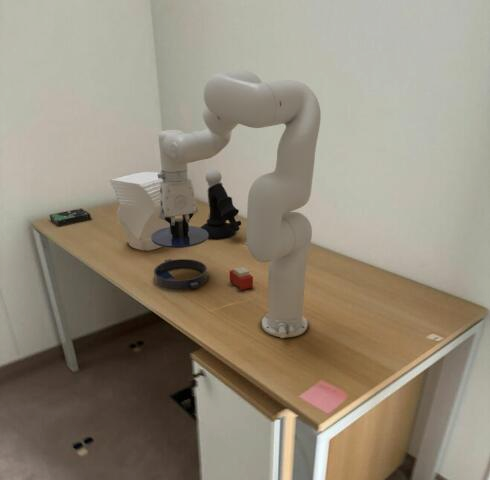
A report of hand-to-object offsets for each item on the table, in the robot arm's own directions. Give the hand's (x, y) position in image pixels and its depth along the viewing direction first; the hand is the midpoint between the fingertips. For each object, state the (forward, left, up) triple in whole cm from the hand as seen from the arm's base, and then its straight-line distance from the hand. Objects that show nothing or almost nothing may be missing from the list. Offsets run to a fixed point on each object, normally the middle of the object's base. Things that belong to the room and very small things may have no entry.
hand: (180, 234), depth 147 cm
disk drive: (+60, +57, -15) cm, 84 cm away
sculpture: (+39, -11, -15) cm, 44 cm away
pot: (-1, +1, -15) cm, 15 cm away
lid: (0, 0, -1) cm, 1 cm away
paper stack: (+32, +14, -15) cm, 39 cm away
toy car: (-6, -19, -15) cm, 25 cm away
